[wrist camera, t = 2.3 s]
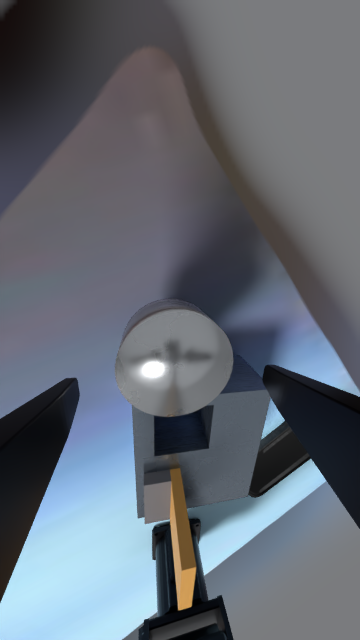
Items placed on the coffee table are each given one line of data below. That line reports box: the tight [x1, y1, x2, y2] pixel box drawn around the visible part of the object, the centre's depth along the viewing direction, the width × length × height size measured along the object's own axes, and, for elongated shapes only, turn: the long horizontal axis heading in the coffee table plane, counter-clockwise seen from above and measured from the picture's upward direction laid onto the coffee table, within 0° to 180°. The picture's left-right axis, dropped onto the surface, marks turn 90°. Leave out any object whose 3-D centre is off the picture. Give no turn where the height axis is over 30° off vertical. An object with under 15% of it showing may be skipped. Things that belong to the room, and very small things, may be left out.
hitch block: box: [132, 356, 270, 518], centre depth 17 cm, size 12×10×5 cm
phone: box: [248, 421, 311, 498], centre depth 24 cm, size 8×1×15 cm
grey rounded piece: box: [115, 299, 233, 417], centre depth 13 cm, size 6×6×7 cm
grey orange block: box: [144, 468, 196, 611], centre depth 13 cm, size 4×3×5 cm, turn 178°
